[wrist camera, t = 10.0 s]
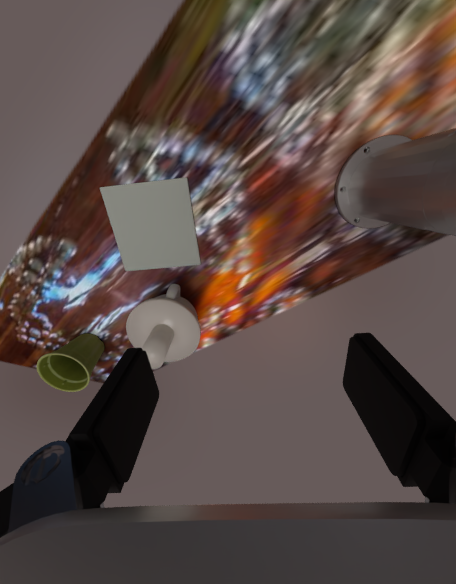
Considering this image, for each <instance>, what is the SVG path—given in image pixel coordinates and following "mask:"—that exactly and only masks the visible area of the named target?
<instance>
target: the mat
mask: <svg viewBox="0 0 456 584" xmlns="http://www.w3.org/2000/svg"><path fill="white" fill-rule="evenodd" d="M100 190H101V194H102V197H103V200H104V203H105V206H106V210H107V213H108V216H109V219H110V222H111V226H112V229H113V232H114V235H115V238H116V242H117V245H118V248H119V251H120V255H121V258H122V261H123V264H124V267H125V271H133V270H145V269H156V268H167V267H179V266H190V265H201V262H200V256H199V249H198V243H197V237H196V230H195V224H194V218H193V211H192V205H191V198H190V192H189V186H188V179H187V178H178V179H170V180H161V181H152V182H144V183H135V184H126V185H117V186H109V187H100Z"/></svg>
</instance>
